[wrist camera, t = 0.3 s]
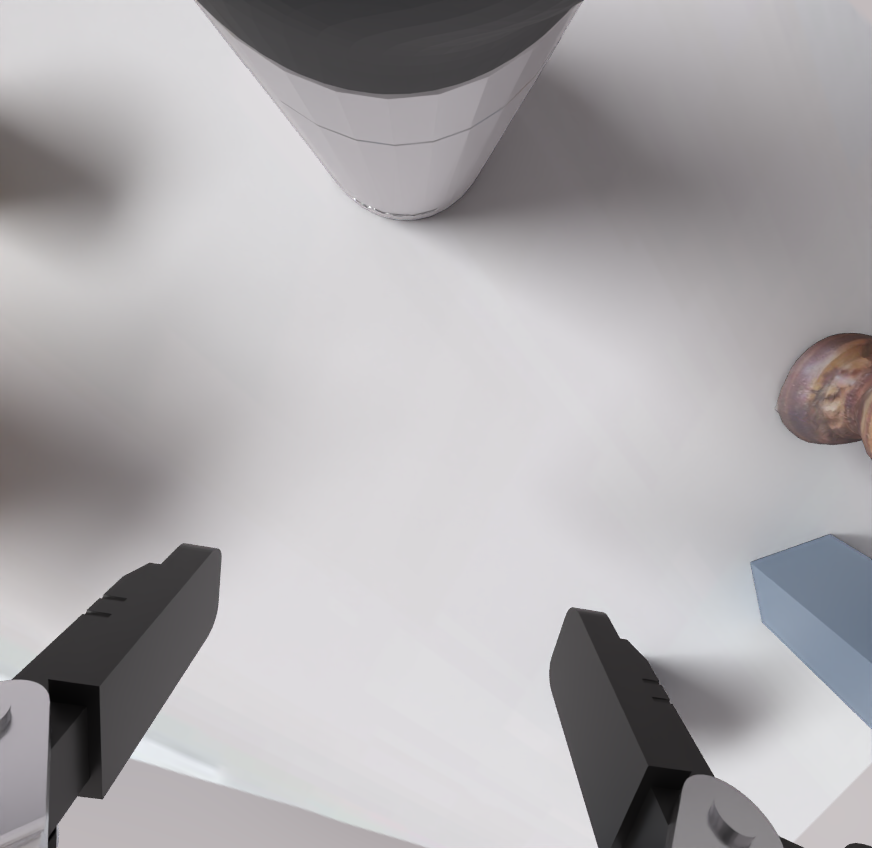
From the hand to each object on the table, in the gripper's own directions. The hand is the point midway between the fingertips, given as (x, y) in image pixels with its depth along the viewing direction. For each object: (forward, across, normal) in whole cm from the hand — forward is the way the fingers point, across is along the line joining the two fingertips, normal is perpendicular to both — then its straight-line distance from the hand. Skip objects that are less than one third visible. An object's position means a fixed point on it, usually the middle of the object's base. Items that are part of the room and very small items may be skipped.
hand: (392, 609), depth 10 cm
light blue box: (+20, -31, +8) cm, 37 cm away
